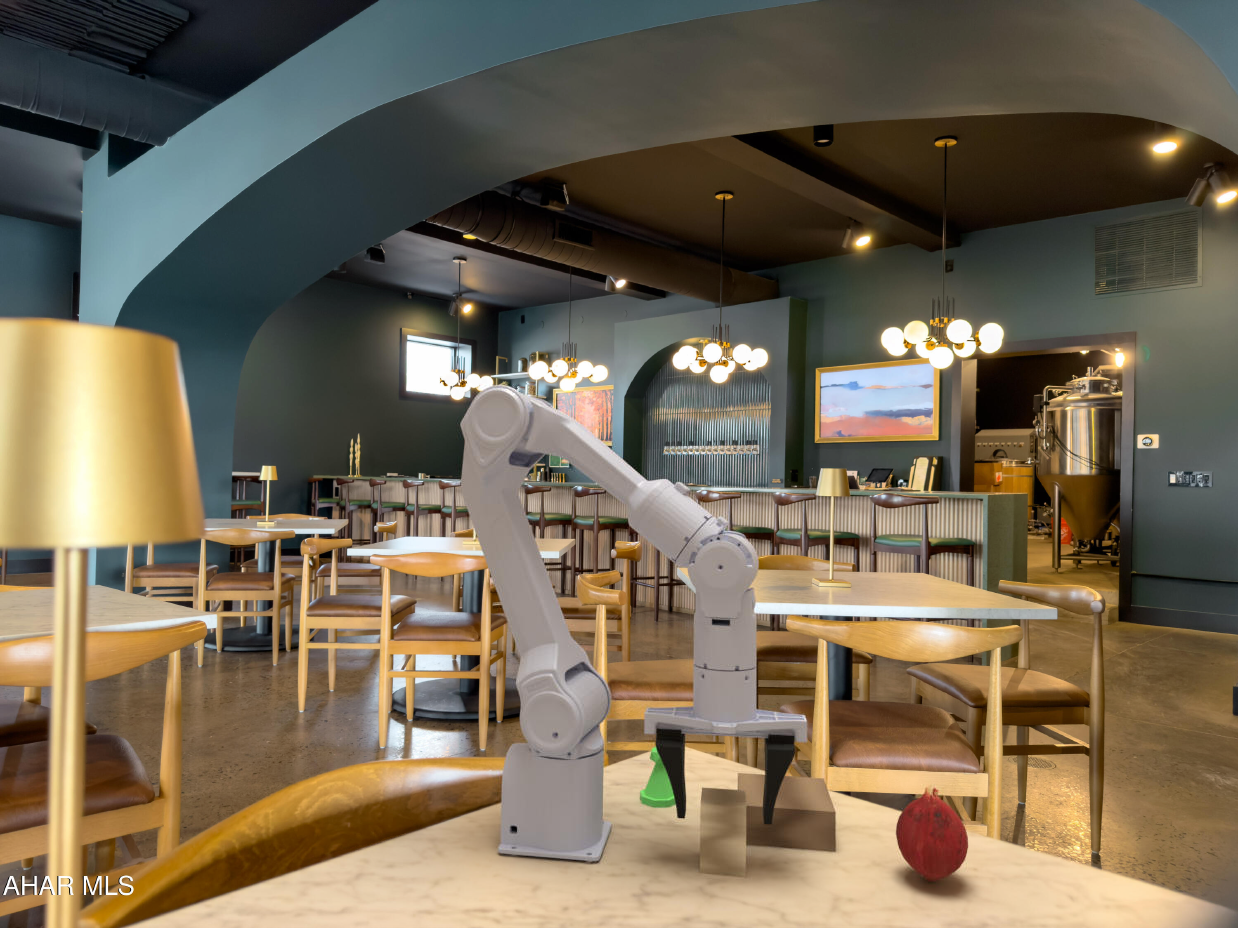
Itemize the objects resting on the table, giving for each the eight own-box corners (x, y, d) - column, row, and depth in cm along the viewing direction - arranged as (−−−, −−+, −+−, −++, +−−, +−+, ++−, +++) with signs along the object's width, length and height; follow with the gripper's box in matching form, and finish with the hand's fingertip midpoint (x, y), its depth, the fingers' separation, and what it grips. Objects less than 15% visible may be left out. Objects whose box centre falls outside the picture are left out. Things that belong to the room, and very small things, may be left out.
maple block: (699, 873, 67) (700, 803, 67) (701, 852, 71) (701, 787, 71) (745, 877, 66) (746, 806, 67) (744, 856, 70) (745, 790, 71)
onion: (976, 902, 63) (975, 802, 63) (902, 894, 64) (902, 796, 64) (959, 869, 68) (958, 778, 69) (891, 862, 69) (891, 773, 70)
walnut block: (738, 847, 73) (739, 804, 73) (737, 810, 82) (737, 772, 82) (835, 855, 71) (835, 811, 72) (823, 816, 80) (823, 778, 81)
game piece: (634, 804, 82) (635, 748, 82) (645, 790, 86) (646, 736, 86) (673, 810, 81) (674, 752, 81) (682, 795, 85) (683, 741, 85)
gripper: (641, 670, 67) (639, 829, 66) (810, 677, 65) (811, 841, 64) (649, 655, 74) (647, 798, 73) (802, 661, 72) (802, 809, 71)
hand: (724, 816), depth 69 cm, fingers open, 7 cm apart
